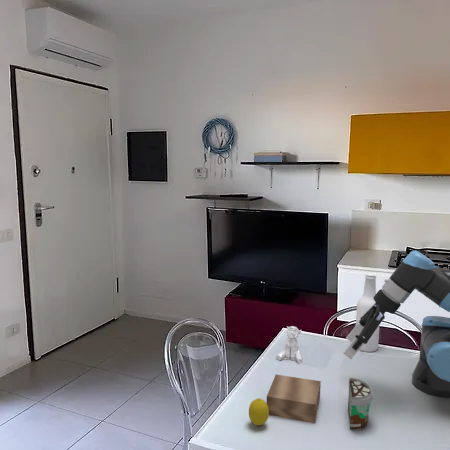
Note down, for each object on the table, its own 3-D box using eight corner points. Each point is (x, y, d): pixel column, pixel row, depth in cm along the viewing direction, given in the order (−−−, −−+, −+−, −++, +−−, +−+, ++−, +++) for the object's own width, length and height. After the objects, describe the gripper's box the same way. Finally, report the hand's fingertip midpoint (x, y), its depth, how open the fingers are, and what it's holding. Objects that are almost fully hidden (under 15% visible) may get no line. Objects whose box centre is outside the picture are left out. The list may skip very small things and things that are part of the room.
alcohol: (351, 343, 182) (355, 270, 178) (372, 343, 183) (376, 270, 179) (359, 353, 174) (364, 276, 169) (381, 352, 175) (387, 276, 170)
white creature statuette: (275, 360, 166) (276, 329, 165) (280, 351, 175) (281, 321, 173) (301, 364, 164) (302, 332, 162) (305, 354, 172) (306, 324, 170)
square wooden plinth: (319, 399, 141) (320, 381, 140) (315, 424, 127) (316, 404, 127) (275, 392, 145) (275, 374, 144) (266, 415, 131) (266, 396, 131)
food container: (373, 435, 122) (376, 400, 121) (350, 432, 123) (352, 398, 122) (369, 410, 134) (371, 378, 133) (347, 408, 135) (349, 376, 134)
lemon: (254, 433, 122) (254, 405, 121) (245, 422, 127) (245, 395, 126) (272, 428, 125) (272, 401, 123) (262, 418, 130) (263, 391, 128)
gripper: (380, 279, 149) (341, 327, 155) (381, 298, 126) (335, 354, 131) (399, 293, 148) (359, 341, 153) (404, 315, 124) (357, 371, 130)
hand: (348, 348), depth 142 cm, fingers open, 13 cm apart
